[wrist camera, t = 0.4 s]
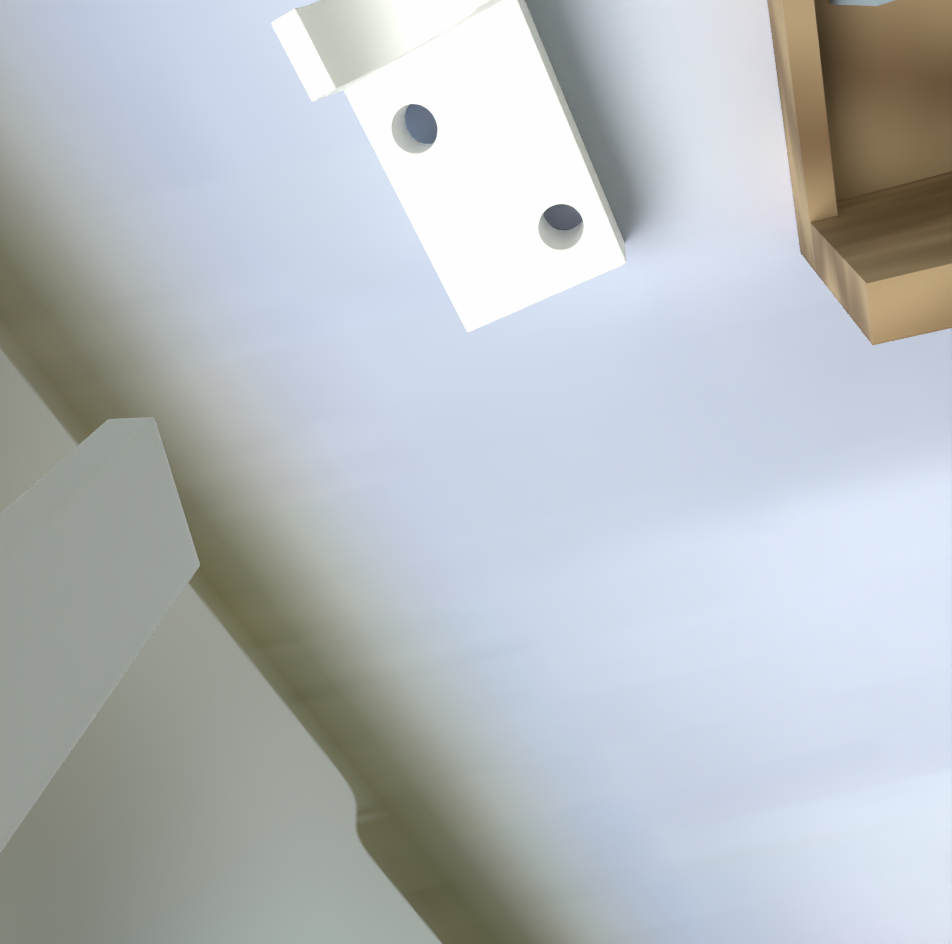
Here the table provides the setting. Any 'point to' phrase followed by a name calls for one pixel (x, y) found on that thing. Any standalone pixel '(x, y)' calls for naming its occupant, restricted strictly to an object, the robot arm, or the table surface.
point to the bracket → (466, 140)
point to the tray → (872, 155)
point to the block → (859, 2)
